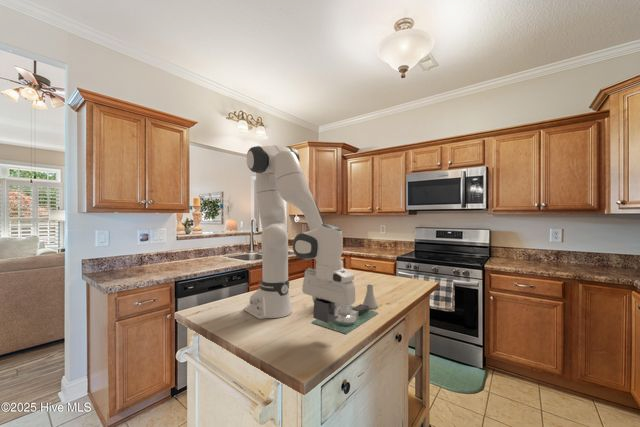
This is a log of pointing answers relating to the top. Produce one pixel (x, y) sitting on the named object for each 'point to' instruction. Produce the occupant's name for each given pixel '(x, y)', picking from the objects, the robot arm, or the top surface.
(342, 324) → the green placemat
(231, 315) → the top surface
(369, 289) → the flask
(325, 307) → the dark square pot
